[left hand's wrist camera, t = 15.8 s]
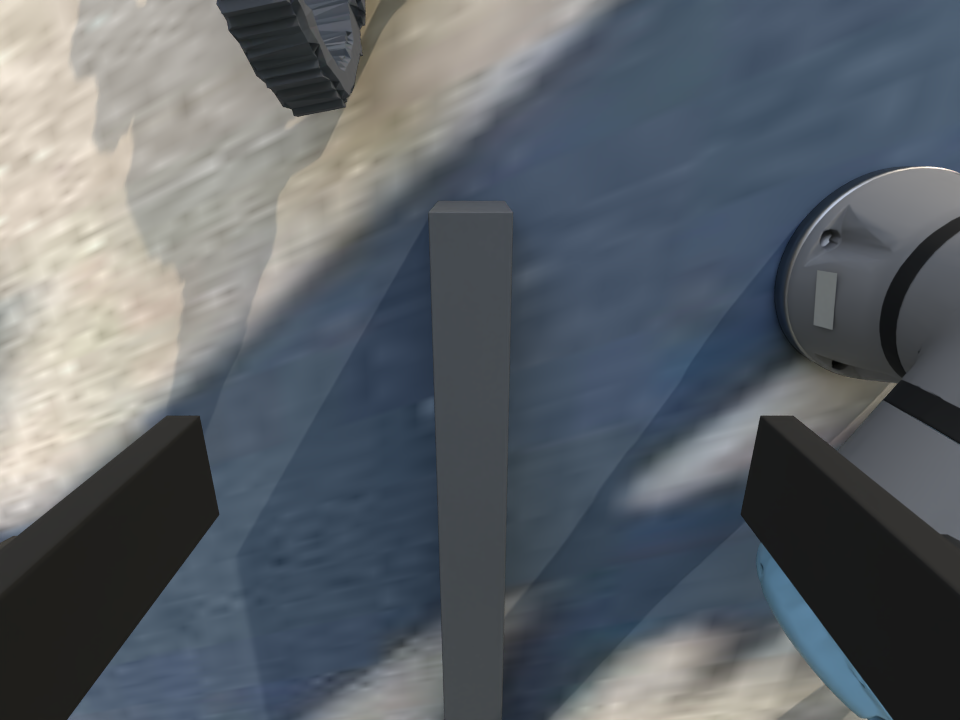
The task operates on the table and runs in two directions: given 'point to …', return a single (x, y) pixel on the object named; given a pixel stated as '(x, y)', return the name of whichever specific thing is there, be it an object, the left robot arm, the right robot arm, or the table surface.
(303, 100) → the toy
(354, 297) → the table surface
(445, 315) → the post
